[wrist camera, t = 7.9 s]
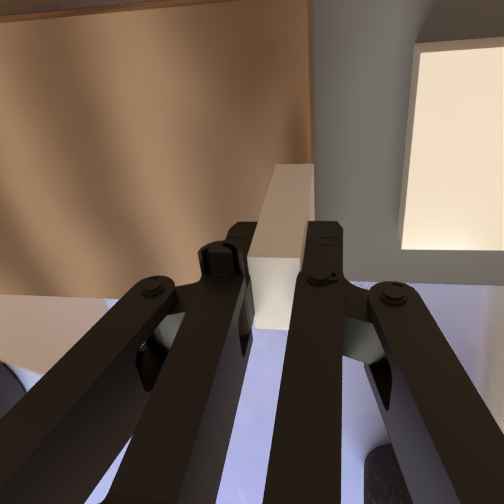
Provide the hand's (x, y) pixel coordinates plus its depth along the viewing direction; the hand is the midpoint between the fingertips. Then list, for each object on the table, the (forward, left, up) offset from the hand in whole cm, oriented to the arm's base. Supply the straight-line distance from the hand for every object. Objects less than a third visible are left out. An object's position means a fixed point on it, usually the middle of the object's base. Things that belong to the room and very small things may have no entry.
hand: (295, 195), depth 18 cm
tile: (+8, 0, -3) cm, 8 cm away
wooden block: (-9, 0, -5) cm, 11 cm away
